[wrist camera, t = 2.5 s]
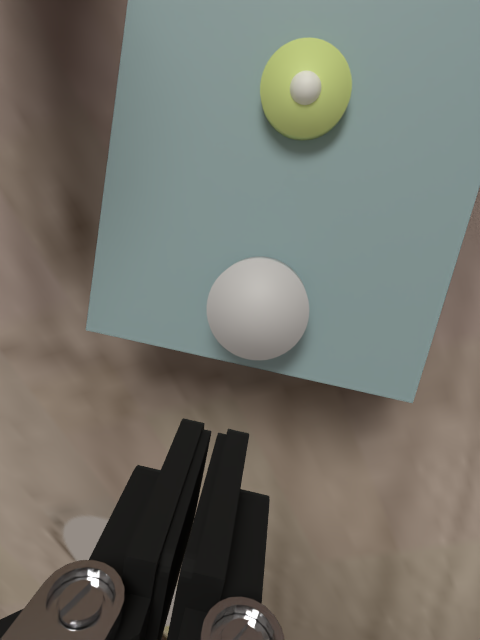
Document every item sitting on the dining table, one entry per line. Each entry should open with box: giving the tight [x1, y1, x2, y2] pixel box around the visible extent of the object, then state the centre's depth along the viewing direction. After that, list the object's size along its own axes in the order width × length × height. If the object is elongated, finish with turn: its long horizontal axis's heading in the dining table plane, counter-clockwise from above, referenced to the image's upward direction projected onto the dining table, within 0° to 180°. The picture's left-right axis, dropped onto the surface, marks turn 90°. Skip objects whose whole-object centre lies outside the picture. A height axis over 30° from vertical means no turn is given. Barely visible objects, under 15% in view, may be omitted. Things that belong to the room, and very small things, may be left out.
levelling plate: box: [86, 0, 480, 403], centre depth 21 cm, size 20×18×4 cm
